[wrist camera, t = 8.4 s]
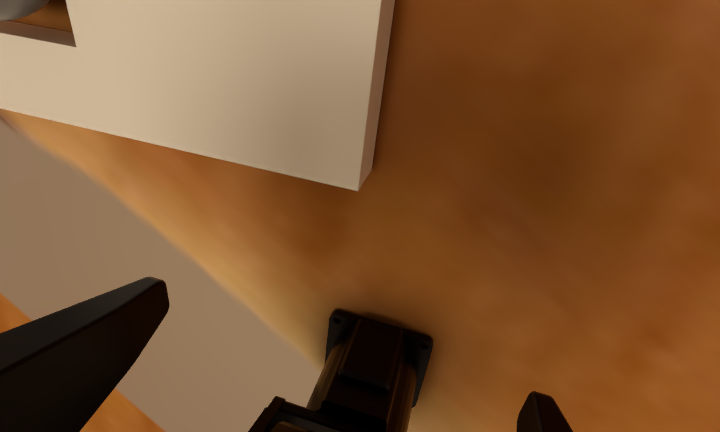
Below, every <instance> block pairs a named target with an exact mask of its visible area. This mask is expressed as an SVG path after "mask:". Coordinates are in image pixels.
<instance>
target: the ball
mask: <svg viewBox="0 0 720 432" xmlns="http://www.w3.org/2000/svg"><path fill="white" fill-rule="evenodd" d="M49 1H50V0H0V21H5V20H13V19H18V18H22V17H25V16H28V15H30V14H32V13H34V12H36V11H38V10H39V9H41V8H42V7H43V6H45V5H46V4H47V3H48V2H49Z"/></svg>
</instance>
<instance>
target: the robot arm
mask: <svg viewBox="0 0 720 432" xmlns="http://www.w3.org/2000/svg"><path fill="white" fill-rule="evenodd" d="M168 309H169V299H168V293H167V287H166V283H165V282H164V281H163V280H160V279H157V278H154V277H146V278H143V279H141V280H138V281H135V282H133V283H130V284H127V285H125V286H122V287H120V288H117V289H114V290H112V291H110V292H107V293H104V294H101V295H99V296H96V297H94V298H91V299H88V300H86V301H83V302H81V303H78V304H75V305H73V306H71V307H68V308H65V309H62V310H60V311H57V312H55V313H52V314H50V315H47V316H44V317H42V318H39V319H36V320H34V321H31V322H29V323H26V324H23V325H21V326H18V327H16V328H13V329H10V330H8V331H5V332H3V333H0V432H80V430H81V429H82V428H83V427H84V425H85V424H86V423H87V422H88V420H89V419H90V418H91V417H92V415H93V414H94V413H95V412H96V410H97V409H98V408H99V407H100V405H101V404H102V403H103V402H104V400H105V399H106V398H107V397H108V395H109V394H110V393H111V392H112V390H113V389H114V388H115V387H116V385H117V384H118V383H119V382H120V380H121V379H122V378H123V377H124V375H125V374H126V373H127V371H128V370H129V369H130V368H131V366H132V365H133V364H134V362H135V361H136V359H137V358H138V357H139V355H140V354H141V352H142V350H143V349H144V347H145V346H146V344H147V343H148V341H149V340H150V338H151V337H152V335H153V334H154V332H155V331H156V329H157V328H158V326H159V325H160V323H161V321H162V320H163V319H164V317H165V315H166V314H167V312H168ZM337 318H339V319H337ZM423 343H425V344H423ZM426 344H427V345H426ZM432 348H433V340H432V339H431V338H430V337H429V336H426V335H423V334H419V333H416V332H412V331H409V330H406V329H402V328H399V327H395V326H392V325H388V324H385V323H381V322H378V321H374V320H371V319H367V318H364V317H360V316H357V315H353V314H350V313H347V312H343V311H339V310H335V311H333V312H332V314H331V316H330V318H329V328H328V338H327V348H326V358H325V366H324V368H323V370H322V372H321V375H320V377H319V379H318V382H317V384H316V386H315V388H314V391H313V393H312V395H311V397H310V400H309V402H308V404H307V407H306V408H305V407H302V406H299V405H296V404H293V403H290V402H287V401H285V399H284V398H281V397H278V396H276V397H275V398H274V399H273V401H272V402H271V403H270V405H269V406H268V407H266V408H265V409H264V410H263V412H262V413H261V415H260V416H259V417H258V419H257V420H256V422H255V423H254V425H253V426H252V427H251V429H250V430H249V431H248V432H407V428H408V423H409V418H410V412H411V408H413V407H415V405H416V403H417V399H418V396H419V392H420V389H421V386H422V382H423V379H424V375H425V372H426V369H427V365H428V362H429V359H430V355H431V352H432ZM517 432H573V430H572V429H571V427H570V426H569V424H568V422H567V421H566V419H565V417H564V416H563V414H562V412H561V411H560V409H559V407H558V406H557V404H556V402H555V401H554V399H553V398H552V397H551V396H549V395H546V394H542V393H539V392H536V391H532V392H531V393H530V394H529V395H528V397H527V399H526V401H525V403H524V405H523V407H522V409H521V411H520V413H519V416H518V420H517Z"/></svg>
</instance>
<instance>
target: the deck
mask: <svg viewBox="0 0 720 432" xmlns="http://www.w3.org/2000/svg"><path fill="white" fill-rule="evenodd" d="M66 4H67V8H68V13H69V17H70V21H71V25H72V30H73V33H72V32H67V31H62V30H56V29H51V28H45V27H40V26H34V25H29V24H24V23H18V22H13V21H7V20H5V21H0V108H1V109H6V110H10V111H14V112H18V113H23V114H27V115H31V116H36V117H40V118H44V119H49V120H53V121H57V122H62V123H66V124H70V125H74V126H79V127H83V128H87V129H92V130H96V131H100V132H105V133H109V134H113V135H118V136H122V137H126V138H131V139H135V140H139V141H143V142H148V143H152V144H156V145H161V146H165V147H169V148H174V149H178V150H182V151H187V152H191V153H195V154H199V155H204V156H208V157H212V158H217V159H221V160H225V161H230V162H234V163H238V164H243V165H247V166H251V167H256V168H260V169H264V170H268V171H273V172H277V173H281V174H286V175H290V176H294V177H299V178H303V179H307V180H312V181H316V182H320V183H324V184H329V185H333V186H337V187H342V188H346V189H350V190H355V191H358V190H359V189H360V187H361V186H362V184H363V183H364V181H365V179H366V178H367V176H368V175H369V173H370V172H371V170H372V164H373V156H374V149H375V142H376V135H377V127H378V120H379V113H380V105H381V98H382V91H383V84H384V76H385V69H386V62H387V55H388V47H389V40H390V33H391V26H392V18H393V11H394V4H395V0H66Z"/></svg>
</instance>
